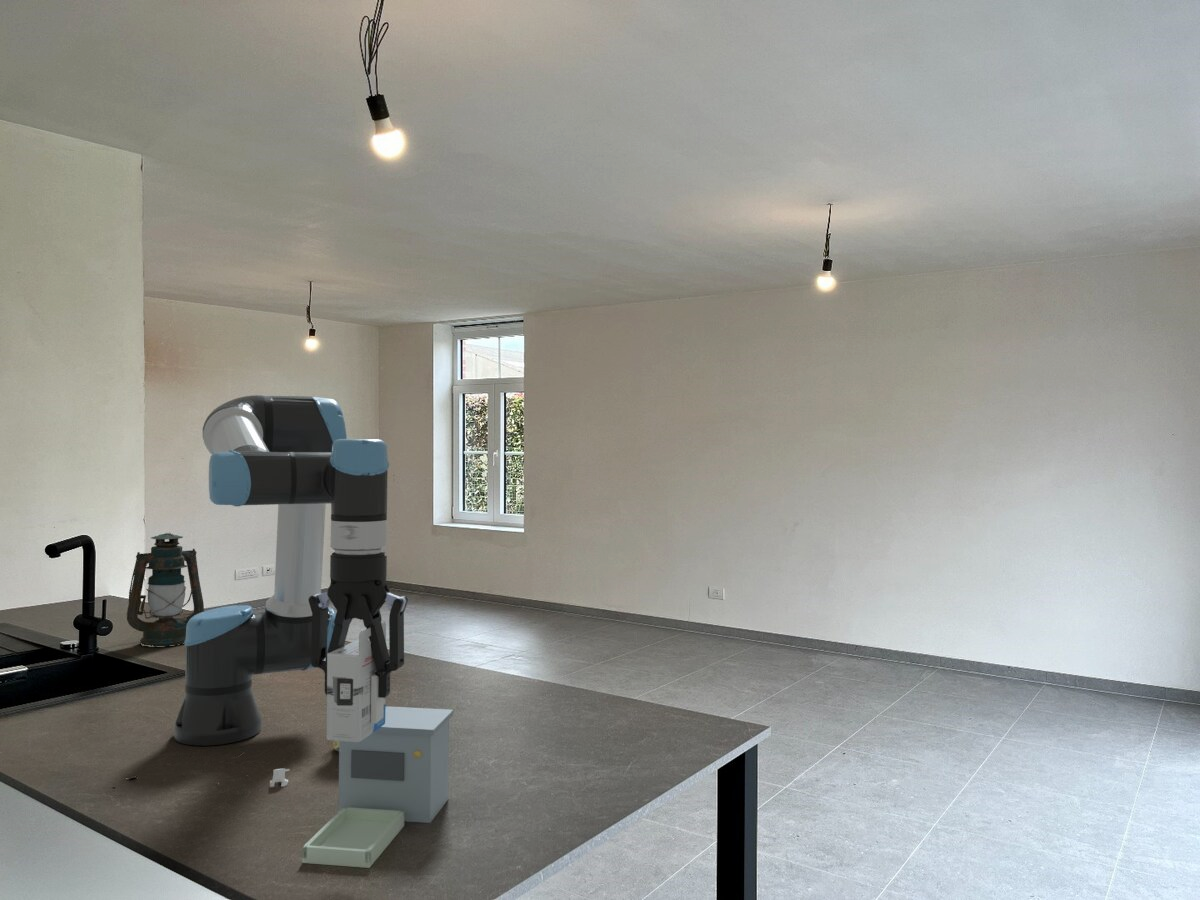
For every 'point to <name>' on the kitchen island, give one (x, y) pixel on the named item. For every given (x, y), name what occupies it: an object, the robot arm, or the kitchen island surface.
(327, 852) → the tray
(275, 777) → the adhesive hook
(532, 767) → the kitchen island surface
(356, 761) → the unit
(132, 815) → the kitchen island surface
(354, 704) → the ink box
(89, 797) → the kitchen island surface
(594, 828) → the kitchen island surface
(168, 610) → the lantern
